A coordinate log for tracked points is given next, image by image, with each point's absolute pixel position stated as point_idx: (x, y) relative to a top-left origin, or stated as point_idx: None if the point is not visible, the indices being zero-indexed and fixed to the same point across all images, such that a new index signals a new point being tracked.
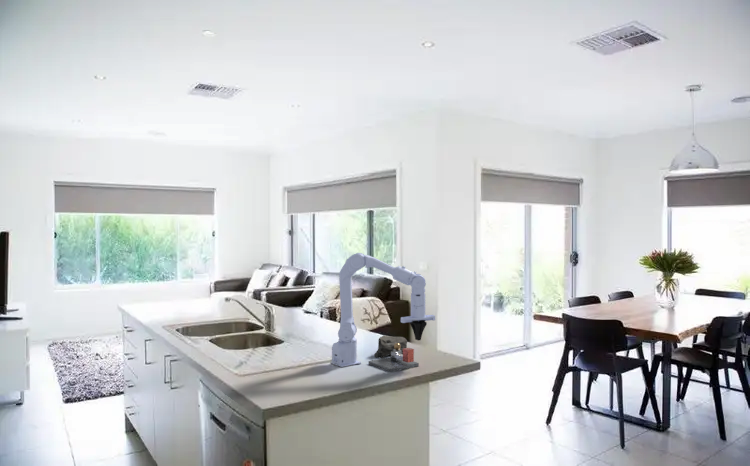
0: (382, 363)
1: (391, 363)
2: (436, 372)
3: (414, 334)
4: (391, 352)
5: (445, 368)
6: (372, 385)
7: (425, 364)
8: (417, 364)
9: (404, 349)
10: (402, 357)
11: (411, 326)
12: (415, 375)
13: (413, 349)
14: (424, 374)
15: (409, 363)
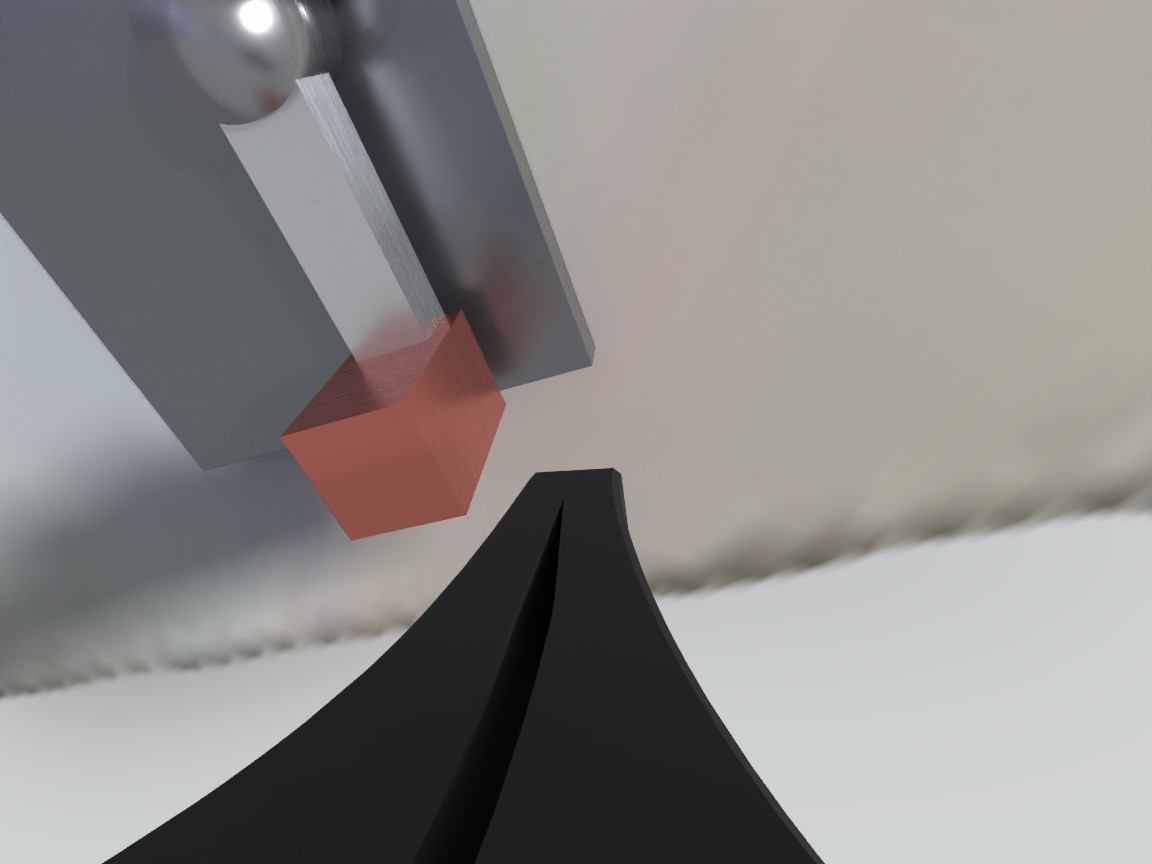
0: (94, 232)
1: (222, 272)
2: (673, 589)
3: (482, 554)
4: (145, 59)
5: (847, 515)
6: (92, 674)
7: (723, 296)
8: (575, 362)
9: (307, 471)
10: (347, 325)
11: (271, 759)
12: None
13: (462, 512)
14: None
15: None
